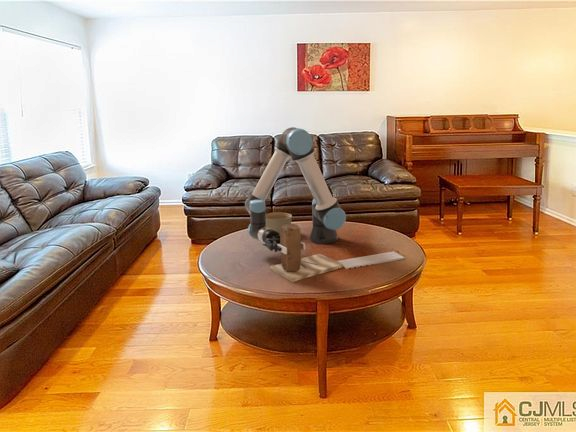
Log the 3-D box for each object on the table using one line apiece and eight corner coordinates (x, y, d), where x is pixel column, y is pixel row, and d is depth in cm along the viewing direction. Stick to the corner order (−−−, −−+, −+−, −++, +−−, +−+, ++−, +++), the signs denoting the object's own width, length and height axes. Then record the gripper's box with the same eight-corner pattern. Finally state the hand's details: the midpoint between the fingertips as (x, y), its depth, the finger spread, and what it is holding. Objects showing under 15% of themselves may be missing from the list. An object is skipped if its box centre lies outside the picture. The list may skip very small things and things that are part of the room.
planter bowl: (286, 239, 254) (285, 220, 251) (259, 237, 259) (258, 218, 257) (296, 231, 268) (295, 213, 266) (270, 229, 274) (269, 211, 271)
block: (301, 271, 203) (302, 227, 199) (285, 273, 201) (285, 228, 197) (294, 263, 214) (294, 221, 209) (278, 265, 211) (278, 222, 207)
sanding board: (319, 256, 226) (319, 253, 226) (343, 267, 211) (343, 264, 211) (270, 269, 211) (270, 266, 211) (292, 281, 197) (292, 278, 196)
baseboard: (334, 262, 220) (346, 270, 209) (334, 256, 219) (346, 264, 208) (390, 252, 230) (404, 260, 219) (390, 247, 229) (404, 254, 219)
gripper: (288, 239, 226) (315, 252, 208) (249, 248, 215) (274, 262, 197) (287, 225, 224) (315, 236, 206) (248, 233, 213) (274, 245, 195)
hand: (295, 248), depth 201 cm, fingers closed on block, 9 cm apart
